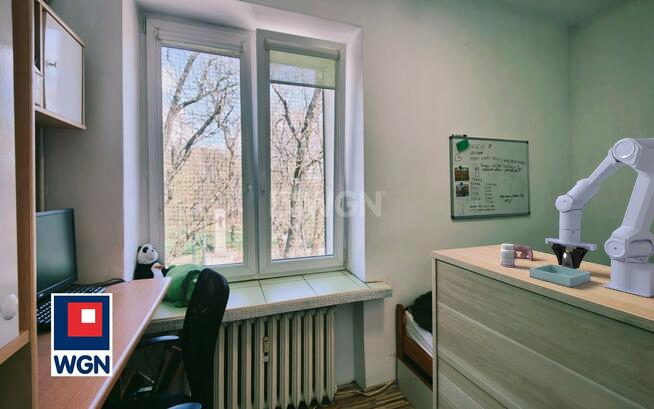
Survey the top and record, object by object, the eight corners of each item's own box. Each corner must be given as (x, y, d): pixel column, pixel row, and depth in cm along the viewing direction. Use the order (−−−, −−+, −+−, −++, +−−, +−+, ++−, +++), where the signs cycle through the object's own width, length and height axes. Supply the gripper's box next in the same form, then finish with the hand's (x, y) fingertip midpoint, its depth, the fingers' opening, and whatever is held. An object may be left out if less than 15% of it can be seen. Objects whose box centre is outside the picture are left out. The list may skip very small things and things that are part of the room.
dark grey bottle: (578, 272, 99) (579, 251, 99) (572, 273, 98) (572, 252, 97) (565, 269, 103) (565, 249, 103) (559, 270, 101) (559, 250, 101)
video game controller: (532, 262, 118) (532, 246, 120) (533, 260, 114) (533, 243, 117) (505, 260, 123) (505, 244, 125) (505, 257, 120) (505, 242, 122)
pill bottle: (516, 267, 107) (517, 245, 106) (503, 267, 108) (503, 245, 107) (511, 264, 112) (511, 243, 111) (498, 263, 113) (498, 243, 112)
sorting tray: (590, 281, 90) (590, 272, 90) (569, 287, 85) (570, 278, 85) (549, 272, 100) (549, 263, 100) (529, 277, 96) (529, 268, 96)
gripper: (602, 230, 94) (600, 270, 95) (553, 225, 108) (552, 260, 108) (590, 232, 92) (589, 273, 92) (542, 227, 105) (541, 262, 106)
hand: (568, 266), depth 100 cm, fingers closed on dark grey bottle, 4 cm apart
